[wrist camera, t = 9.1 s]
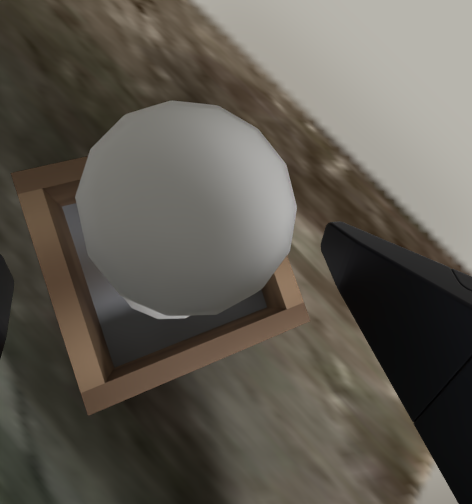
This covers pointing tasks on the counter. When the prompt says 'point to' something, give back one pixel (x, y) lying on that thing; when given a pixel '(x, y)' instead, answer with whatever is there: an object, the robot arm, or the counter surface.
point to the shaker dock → (119, 311)
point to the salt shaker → (185, 209)
